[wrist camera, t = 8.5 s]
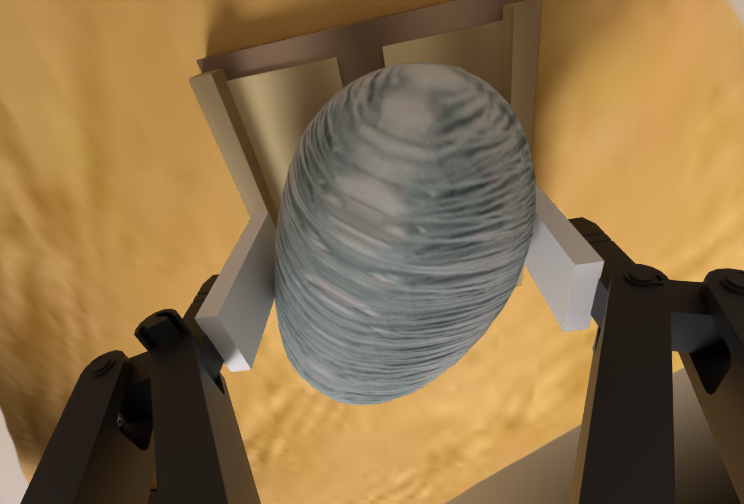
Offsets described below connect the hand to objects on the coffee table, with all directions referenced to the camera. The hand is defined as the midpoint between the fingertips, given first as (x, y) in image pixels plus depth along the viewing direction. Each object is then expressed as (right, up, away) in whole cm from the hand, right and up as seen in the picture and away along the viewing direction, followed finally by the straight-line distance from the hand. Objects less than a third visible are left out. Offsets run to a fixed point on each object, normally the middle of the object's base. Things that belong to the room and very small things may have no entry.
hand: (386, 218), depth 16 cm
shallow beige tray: (0, +2, +3) cm, 4 cm away
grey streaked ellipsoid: (0, +1, +1) cm, 2 cm away
